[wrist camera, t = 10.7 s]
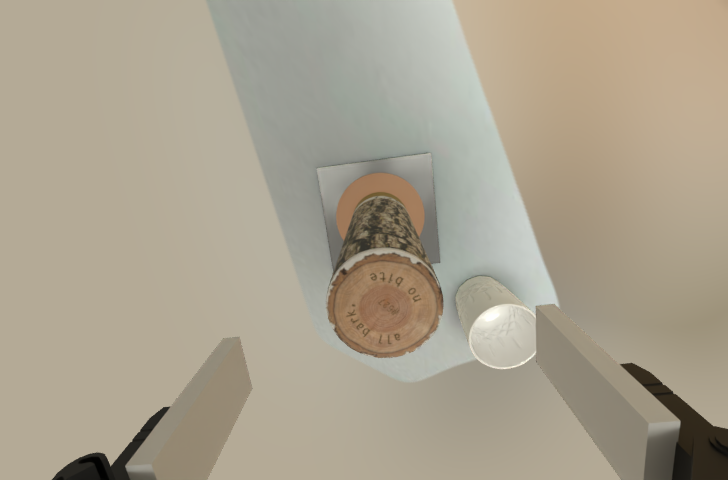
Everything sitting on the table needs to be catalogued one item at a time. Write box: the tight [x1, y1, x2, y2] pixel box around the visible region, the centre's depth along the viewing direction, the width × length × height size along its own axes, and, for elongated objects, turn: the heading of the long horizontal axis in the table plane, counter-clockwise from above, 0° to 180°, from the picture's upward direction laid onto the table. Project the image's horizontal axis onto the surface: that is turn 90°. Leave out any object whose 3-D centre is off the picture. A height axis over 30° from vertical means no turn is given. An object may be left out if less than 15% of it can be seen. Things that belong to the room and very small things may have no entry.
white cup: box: [455, 276, 536, 369], centre depth 44 cm, size 8×8×10 cm
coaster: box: [317, 153, 440, 272], centre depth 45 cm, size 14×14×1 cm
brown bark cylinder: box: [326, 192, 443, 358], centre depth 33 cm, size 7×7×25 cm
